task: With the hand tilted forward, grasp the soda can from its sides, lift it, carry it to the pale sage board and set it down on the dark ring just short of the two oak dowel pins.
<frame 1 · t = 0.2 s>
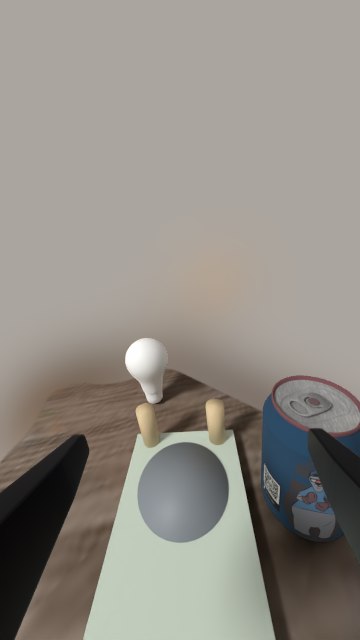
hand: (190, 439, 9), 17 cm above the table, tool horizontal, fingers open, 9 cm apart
soda can: (300, 501, 20), on the table
board: (182, 527, 19), on the table
lightbulb: (156, 402, 35), on the table
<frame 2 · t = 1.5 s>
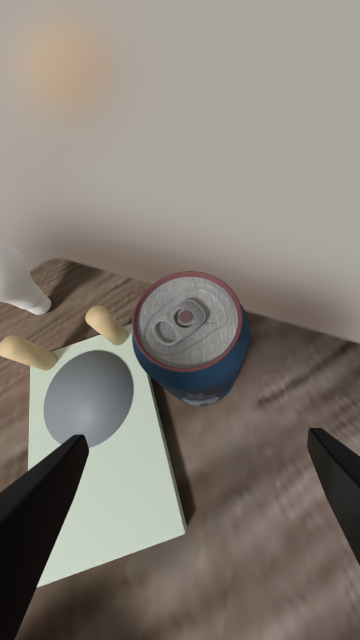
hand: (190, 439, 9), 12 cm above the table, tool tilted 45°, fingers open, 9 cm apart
soda can: (199, 370, 22), on the table
board: (98, 428, 21), on the table
lightbulb: (47, 310, 28), on the table
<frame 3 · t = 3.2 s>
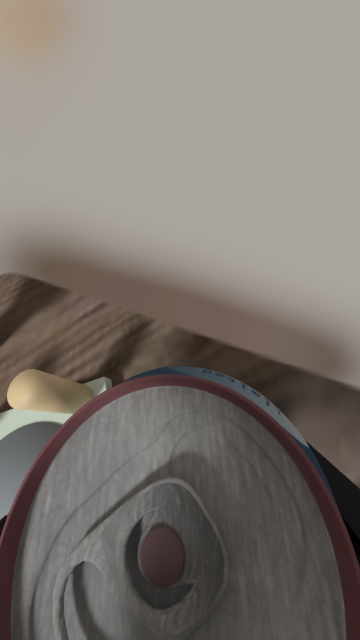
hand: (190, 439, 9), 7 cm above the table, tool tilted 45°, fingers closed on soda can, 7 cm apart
soda can: (201, 457, 14), on the table, touching gripper
board: (39, 558, 13), on the table
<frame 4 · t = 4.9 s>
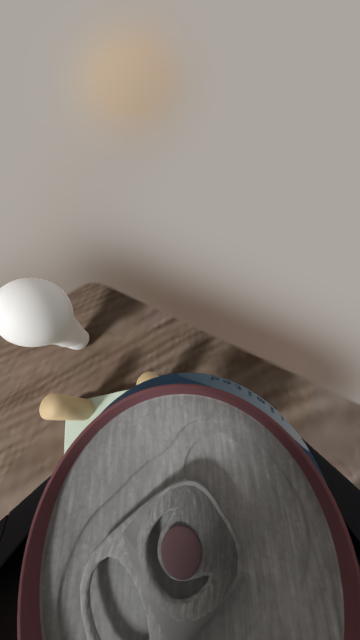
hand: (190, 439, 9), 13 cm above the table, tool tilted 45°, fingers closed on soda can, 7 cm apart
soda can: (199, 455, 15), point 6 cm above the table, touching gripper
board: (134, 497, 19), on the table
lightbulb: (83, 342, 27), on the table
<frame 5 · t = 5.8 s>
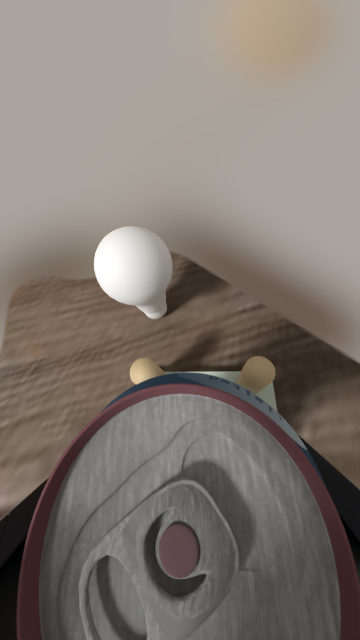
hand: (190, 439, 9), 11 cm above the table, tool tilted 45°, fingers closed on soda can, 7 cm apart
soda can: (198, 455, 15), point 4 cm above the table, touching gripper
board: (205, 489, 17), on the table
lightbulb: (158, 312, 25), on the table
when the fingers open (9 cm above the table, at t = 6.7 s): soda can stays where it is, resting on board.
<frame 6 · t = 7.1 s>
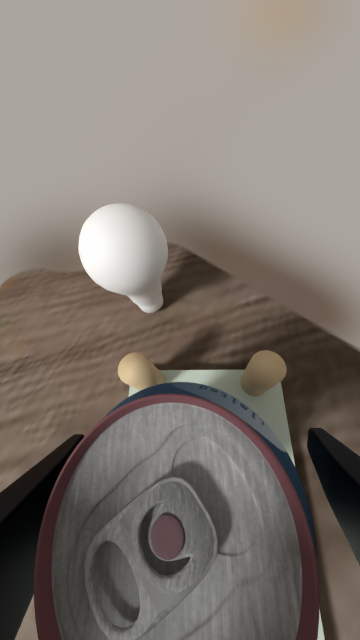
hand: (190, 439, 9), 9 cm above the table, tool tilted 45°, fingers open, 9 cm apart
soda can: (200, 458, 15), point 1 cm above the table, touching board
board: (204, 504, 15), on the table
lightbulb: (153, 306, 23), on the table
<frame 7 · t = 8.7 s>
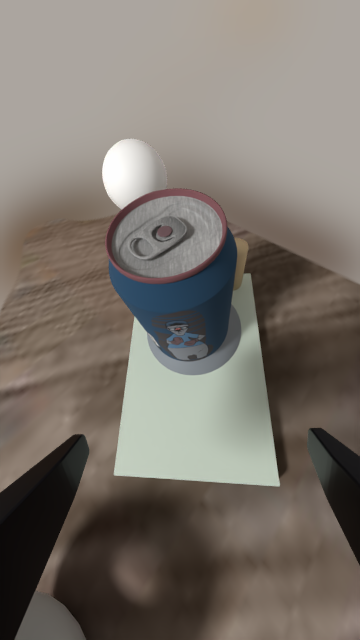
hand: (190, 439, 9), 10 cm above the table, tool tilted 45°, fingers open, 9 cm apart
soda can: (190, 330, 21), point 1 cm above the table, touching board
board: (193, 362, 21), on the table
donut: (72, 634, 14), on the table
lightbulb: (155, 242, 28), on the table
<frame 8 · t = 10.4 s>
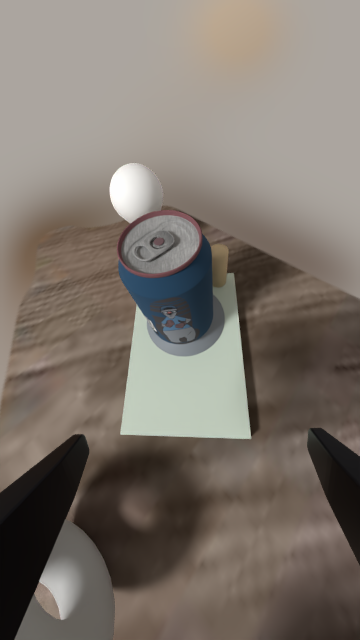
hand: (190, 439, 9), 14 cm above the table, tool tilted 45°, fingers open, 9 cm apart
soda can: (183, 320, 25), point 1 cm above the table, touching board
board: (185, 346, 25), on the table
donut: (88, 554, 18), on the table
lightbulb: (154, 246, 33), on the table
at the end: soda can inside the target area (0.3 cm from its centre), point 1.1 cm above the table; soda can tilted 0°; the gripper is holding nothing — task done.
